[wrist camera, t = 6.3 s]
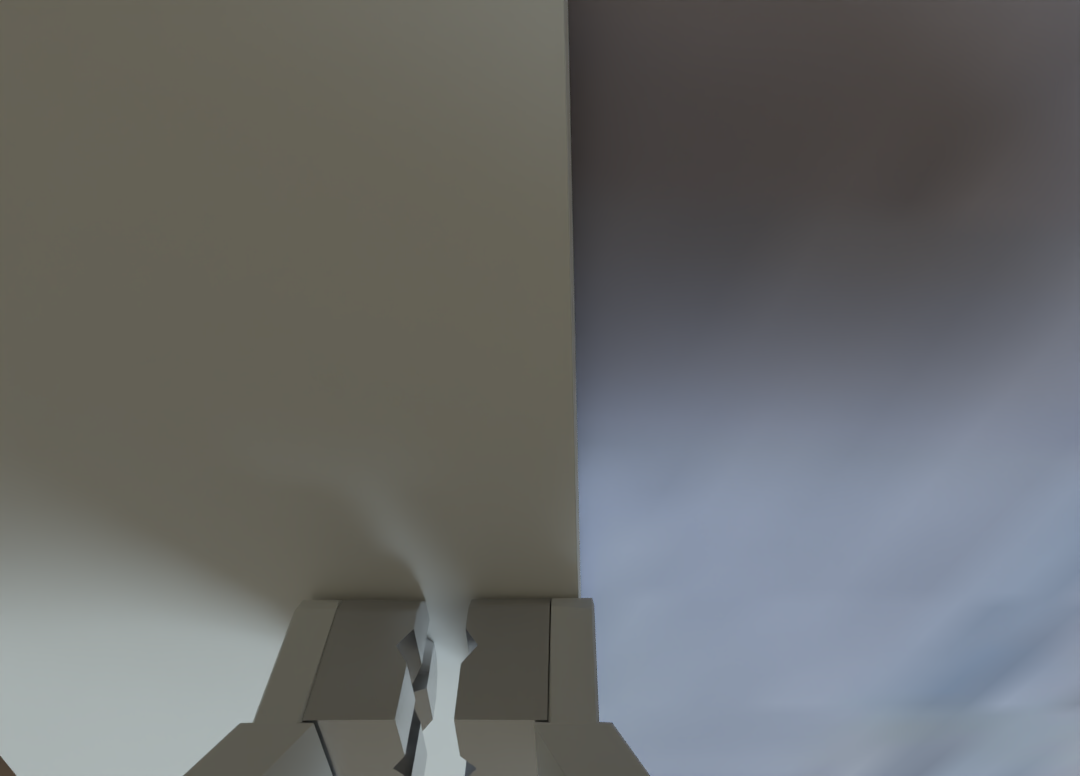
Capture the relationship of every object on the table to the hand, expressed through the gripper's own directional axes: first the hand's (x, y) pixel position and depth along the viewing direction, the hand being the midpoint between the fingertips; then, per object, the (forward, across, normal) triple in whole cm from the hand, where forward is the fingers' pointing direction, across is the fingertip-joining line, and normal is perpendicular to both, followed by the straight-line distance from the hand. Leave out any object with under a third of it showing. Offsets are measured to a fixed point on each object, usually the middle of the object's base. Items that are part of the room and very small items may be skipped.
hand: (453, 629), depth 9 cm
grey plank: (+2, +3, 0) cm, 4 cm away
